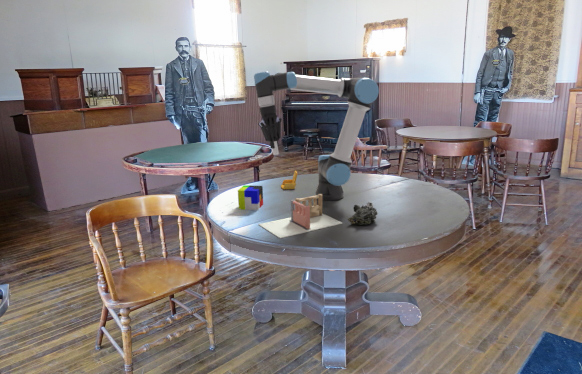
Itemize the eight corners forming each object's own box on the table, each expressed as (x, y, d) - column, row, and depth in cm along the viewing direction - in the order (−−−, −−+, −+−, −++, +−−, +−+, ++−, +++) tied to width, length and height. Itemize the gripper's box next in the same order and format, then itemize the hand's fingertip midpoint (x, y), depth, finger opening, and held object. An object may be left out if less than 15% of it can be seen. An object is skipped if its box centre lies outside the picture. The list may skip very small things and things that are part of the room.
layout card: (318, 212, 214) (318, 211, 214) (342, 223, 197) (342, 222, 197) (258, 224, 199) (258, 223, 199) (279, 238, 182) (279, 237, 182)
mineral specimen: (345, 205, 206) (357, 190, 200) (369, 217, 208) (381, 203, 202) (344, 226, 194) (356, 211, 188) (369, 238, 196) (382, 223, 190)
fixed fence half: (320, 213, 210) (320, 193, 208) (323, 215, 209) (323, 194, 206) (294, 219, 203) (294, 198, 201) (297, 220, 202) (296, 199, 199)
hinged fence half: (290, 219, 202) (289, 199, 199) (293, 218, 203) (293, 198, 200) (307, 228, 190) (306, 207, 187) (310, 227, 191) (310, 206, 188)
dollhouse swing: (280, 185, 267) (280, 170, 265) (296, 184, 268) (296, 169, 265) (281, 189, 257) (281, 174, 255) (298, 189, 258) (297, 173, 255)
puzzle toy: (258, 210, 220) (257, 190, 218) (238, 209, 222) (237, 190, 220) (263, 204, 230) (262, 185, 227) (244, 203, 232) (243, 185, 229)
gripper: (272, 104, 215) (281, 151, 220) (251, 108, 207) (260, 157, 212) (282, 102, 209) (291, 151, 214) (261, 107, 201) (270, 157, 206)
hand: (276, 154), depth 213 cm, fingers closed
